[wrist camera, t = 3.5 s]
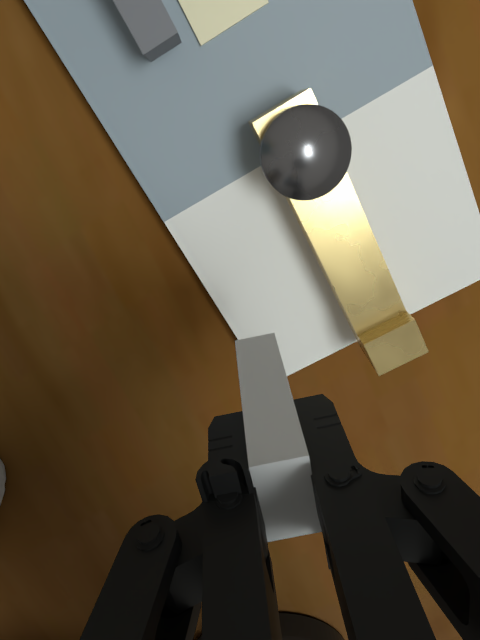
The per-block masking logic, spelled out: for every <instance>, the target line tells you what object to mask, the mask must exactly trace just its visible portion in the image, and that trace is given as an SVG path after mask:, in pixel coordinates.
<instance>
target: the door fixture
mask: <svg viewBox="0 0 480 640" xmlns="http://www.w3.org/2000/svg"><path fill="white" fill-rule="evenodd" d="M24 1H25V3H26V5H27V6H28V8H29V9H30V11H31V12H32V14H33V16H34V17H35V19H36V20H37V22H38V24H39V25H40V27H41V28H42V30H43V31H44V33H45V35H46V36H47V38H48V39H49V41H50V43H51V44H52V46H53V47H54V49H55V50H56V52H57V54H58V55H59V57H60V58H61V60H62V62H63V63H64V65H65V66H66V68H67V70H68V71H69V73H70V74H71V76H72V77H73V79H74V81H75V82H76V84H77V85H78V87H79V89H80V90H81V92H82V93H83V95H84V96H85V98H86V100H87V101H88V103H89V104H90V106H91V108H92V109H93V111H94V112H95V114H96V115H97V117H98V119H99V120H100V122H101V123H102V125H103V127H104V128H105V130H106V131H107V133H108V134H109V136H110V138H111V139H112V141H113V142H114V144H115V146H116V147H117V149H118V150H119V152H120V153H121V155H122V157H123V158H124V160H125V161H126V163H127V165H128V166H129V168H130V169H131V171H132V173H133V174H134V176H135V177H136V179H137V180H138V182H139V184H140V185H141V187H142V188H143V190H144V192H145V193H146V195H147V196H148V198H149V199H150V201H151V203H152V204H153V206H154V207H155V209H156V211H157V212H158V214H159V215H160V217H161V218H162V220H163V222H164V223H165V225H166V226H167V228H168V230H169V231H170V233H171V234H172V236H173V237H174V239H175V241H176V242H177V244H178V245H179V247H180V249H181V250H182V252H183V253H184V255H185V257H186V258H187V260H188V261H189V263H190V264H191V266H192V268H193V269H194V271H195V272H196V274H197V276H198V277H199V279H200V280H201V282H202V283H203V285H204V287H205V288H206V290H207V291H208V293H209V295H210V296H211V298H212V299H213V301H214V302H215V304H216V306H217V307H218V309H219V310H220V312H221V314H222V315H223V317H224V318H225V320H226V321H227V323H228V325H229V326H230V328H231V329H232V331H233V333H234V334H235V336H236V337H237V339H238V340H241V339H245V338H250V337H255V336H260V335H265V334H270V333H275V337H276V341H277V344H278V348H279V351H280V355H281V358H282V362H283V365H284V369H285V372H286V376H288V375H290V374H292V373H294V372H296V371H298V370H300V369H302V368H304V367H306V366H308V365H310V364H312V363H314V362H316V361H318V360H320V359H322V358H324V357H326V356H328V355H330V354H332V353H334V352H336V351H338V350H340V349H342V348H344V347H346V346H348V345H350V344H352V343H354V342H356V341H357V340H356V338H355V336H354V334H353V332H352V330H351V328H350V325H349V323H348V321H347V319H346V317H345V315H344V313H343V311H342V309H341V307H340V305H339V303H338V301H337V299H336V297H335V295H334V293H333V291H332V289H331V287H330V285H329V283H328V281H327V279H326V277H325V275H324V273H323V271H322V269H321V267H320V265H319V263H318V261H317V259H316V257H315V255H314V253H313V251H312V249H311V247H310V245H309V243H308V241H307V239H306V237H305V235H304V233H303V231H302V229H301V227H300V225H299V223H298V221H297V219H296V217H295V215H294V213H293V211H292V209H291V207H290V205H289V203H288V201H287V199H286V197H285V196H284V195H282V194H281V193H279V192H278V191H277V190H276V189H275V188H274V187H273V186H272V185H271V184H270V183H269V181H268V180H267V179H266V177H265V175H264V173H263V171H262V168H261V164H260V157H259V151H260V145H259V143H258V141H257V139H256V137H255V135H254V133H253V131H252V129H251V127H250V125H249V123H248V122H249V121H250V120H252V119H254V118H255V117H257V116H258V115H260V114H262V113H263V112H265V111H267V110H268V109H270V108H272V107H273V106H275V105H277V104H278V103H280V102H282V101H283V100H285V99H287V98H288V97H290V96H292V95H293V94H295V93H297V92H298V91H300V90H303V89H308V88H311V89H312V92H313V94H314V96H315V99H316V101H317V104H318V105H320V106H324V107H326V108H328V109H330V110H332V111H333V112H334V113H336V114H337V115H338V116H339V117H340V118H341V119H342V121H343V122H344V124H345V125H346V127H347V129H348V132H349V135H350V138H351V145H352V153H351V160H350V164H349V167H348V170H347V174H348V176H349V178H350V181H351V183H352V185H353V188H354V190H355V192H356V195H357V197H358V199H359V202H360V204H361V206H362V209H363V211H364V213H365V216H366V218H367V220H368V223H369V225H370V227H371V230H372V232H373V234H374V237H375V239H376V241H377V244H378V246H379V248H380V251H381V253H382V255H383V258H384V260H385V262H386V265H387V267H388V269H389V272H390V274H391V276H392V279H393V281H394V283H395V286H396V288H397V290H398V293H399V295H400V297H401V300H402V302H403V304H404V307H405V309H406V311H407V312H408V313H409V314H412V313H414V312H416V311H418V310H420V309H422V308H424V307H426V306H428V305H430V304H432V303H434V302H436V301H438V300H440V299H442V298H444V297H446V296H448V295H450V294H452V293H454V292H456V291H458V290H460V289H462V288H464V287H466V286H468V285H470V284H472V283H474V282H476V281H478V280H480V214H479V211H478V207H477V204H476V201H475V198H474V195H473V192H472V188H471V185H470V182H469V179H468V176H467V172H466V169H465V166H464V163H463V160H462V157H461V153H460V150H459V147H458V144H457V141H456V138H455V134H454V131H453V128H452V125H451V122H450V119H449V115H448V112H447V109H446V106H445V103H444V99H443V96H442V93H441V90H440V87H439V84H438V80H437V77H436V74H435V71H434V68H433V65H432V61H431V58H430V55H429V52H428V49H427V46H426V42H425V39H424V36H423V33H422V30H421V26H420V23H419V20H418V17H417V14H416V11H415V7H414V4H413V1H412V0H24Z"/></svg>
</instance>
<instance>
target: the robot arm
mask: <svg viewBox="0 0 480 640" xmlns="http://www.w3.org/2000/svg"><path fill="white" fill-rule="evenodd" d="M235 346H236V355H237V365H238V374H239V383H240V392H241V401H242V410H243V411H241V412H236V413H231V414H226V415H221V416H216V417H214V419H213V421H212V422H211V424H210V426H209V428H208V441H209V442H208V451H209V452H208V461H207V462H206V463H205V464H203V465H202V467H201V468H200V469H199V470H198V472H197V476H196V479H195V480H196V483H197V486H198V489H199V492H200V495H201V498H202V501H203V502H202V503H201V504H200V506H198V507H197V508H196V509H195V510H194V511H192V512H191V513H189V514H187V515H185V516H183V517H181V518H179V519H177V520H175V521H173V520H172V519H170V518H169V517H168V516H164V515H153V516H148V517H146V518H144V519H142V520H140V521H138V522H137V523H136V524H135V525H134V526H133V527H131V529H130V530H129V532H128V533H127V535H126V536H125V538H124V541H123V543H122V545H121V547H120V550H119V552H118V554H117V556H116V559H115V561H114V563H113V565H112V568H111V570H110V572H109V575H108V577H107V579H106V581H105V584H104V586H103V588H102V590H101V593H100V595H99V597H98V599H97V602H96V604H95V606H94V608H93V611H92V613H91V615H90V617H89V620H88V622H87V624H86V627H85V629H84V631H83V633H82V636H81V638H80V640H193V638H194V634H195V630H196V625H197V621H198V617H199V613H200V609H201V602H202V636H201V637H200V638H198V639H197V640H344V639H343V637H342V636H341V635H340V634H339V633H338V632H337V631H336V630H335V629H333V628H332V627H330V626H329V625H327V624H325V623H323V622H321V621H319V620H316V619H313V618H310V617H306V616H302V615H296V614H287V613H279V612H278V605H277V598H276V591H275V583H274V576H273V569H272V562H271V558H270V554H269V550H268V543H267V542H271V541H276V540H281V539H286V538H291V537H297V536H302V535H307V534H312V533H317V532H322V533H323V538H324V543H325V549H326V555H327V561H328V567H329V569H331V573H332V577H333V581H334V585H335V589H336V592H337V596H338V600H339V604H340V608H341V612H342V616H343V620H344V624H345V627H346V631H347V635H348V639H349V640H436V638H435V636H434V633H433V631H432V629H431V626H430V624H429V622H428V619H427V617H426V614H425V612H424V610H423V607H422V605H421V602H420V600H419V598H418V595H417V593H416V591H415V588H414V586H413V583H412V581H411V579H410V576H409V574H408V571H407V569H406V567H405V564H404V562H403V561H405V562H408V564H409V566H410V567H411V569H412V570H413V571H414V573H415V574H416V575H417V577H418V578H419V580H420V581H421V582H422V584H423V585H424V586H425V588H426V589H427V591H428V592H429V593H430V595H431V596H432V597H433V599H434V600H435V602H436V603H437V604H438V606H439V607H440V608H441V610H442V611H443V613H444V614H445V615H446V617H447V618H448V619H449V621H450V622H451V623H452V625H453V626H454V628H455V629H456V630H457V632H458V633H459V634H460V636H461V637H462V639H463V640H480V497H479V496H478V495H477V494H476V493H475V492H474V491H473V490H472V489H471V488H470V487H469V486H468V485H467V484H466V483H465V482H463V481H462V480H461V479H460V478H459V477H458V476H457V475H456V474H455V473H454V472H453V471H451V470H450V469H448V468H447V467H445V466H444V465H441V464H438V463H434V462H418V463H413V464H411V465H410V466H408V467H406V468H405V469H404V470H403V472H402V474H401V476H396V475H384V474H378V473H375V472H372V471H369V470H368V469H366V468H364V467H363V466H362V465H361V464H360V463H358V461H357V459H356V458H355V456H354V453H353V451H352V448H351V446H350V444H349V441H348V439H347V436H346V434H345V431H344V429H343V427H342V425H341V422H340V419H339V417H338V415H337V412H336V410H335V407H334V405H333V402H331V401H330V400H329V399H328V398H327V397H325V396H324V395H323V394H320V395H315V396H310V397H305V398H300V399H295V400H293V397H292V394H291V390H290V387H289V383H288V379H287V376H286V372H285V369H284V365H283V362H282V358H281V355H280V351H279V348H278V344H277V341H276V337H275V333H270V334H265V335H260V336H255V337H250V338H245V339H241V340H236V341H235Z"/></svg>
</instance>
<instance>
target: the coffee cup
mask: <svg viewBox="0 0 480 640" xmlns="http://www.w3.org/2000/svg"><path fill="white" fill-rule="evenodd" d="M5 481H6V473H5V466H4V464H3V462H2V461H1V459H0V505H1V502H2V499H3V495H4V492H5V486H4V485H5Z"/></svg>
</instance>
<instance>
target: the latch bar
mask: <svg viewBox="0 0 480 640" xmlns="http://www.w3.org/2000/svg"><path fill="white" fill-rule="evenodd" d="M248 123H249V125H250V127H251V129H252V131H253V133H254V135H255V137H256V139H257V141H258V143H259V145H260V151H259V157H260V164H261V168H262V171H263V173H264V175H265V177H266V179H267V180H268V181H269V183H270V184H271V185H272V186H273V187H274V188H275V189H276V190H277V191H278V192H279V193H281V194H282V195H284V196H285V197H286V199H287V201H288V203H289V205H290V207H291V209H292V211H293V213H294V215H295V217H296V219H297V221H298V223H299V225H300V227H301V229H302V231H303V233H304V235H305V237H306V239H307V241H308V243H309V245H310V247H311V249H312V251H313V253H314V255H315V257H316V259H317V261H318V263H319V265H320V267H321V269H322V271H323V273H324V275H325V277H326V279H327V281H328V283H329V285H330V287H331V289H332V291H333V293H334V295H335V297H336V299H337V301H338V303H339V305H340V307H341V309H342V311H343V313H344V315H345V317H346V319H347V321H348V323H349V325H350V328H351V330H352V332H353V334H354V336H355V338H356V340H357V342H358V344H359V346H360V348H361V349H362V351H363V352H364V354H365V355H366V357H367V358H368V360H369V361H370V363H371V364H372V366H373V368H374V369H375V371H376V372H377V374H378V375H379V376H380V375H382V374H384V373H386V372H388V371H390V370H392V369H394V368H396V367H398V366H401V365H403V364H405V363H407V362H409V361H411V360H413V359H415V358H417V357H419V356H421V355H423V354H425V353H427V352H428V350H427V347H426V345H425V342H424V340H423V338H422V335H421V333H420V331H419V328H418V326H417V324H416V321H415V319H414V318H413V317H412V316H411V315H410V314H409V313H408V312H407V311H406V309H405V307H404V304H403V302H402V300H401V297H400V295H399V293H398V290H397V288H396V286H395V283H394V281H393V279H392V276H391V274H390V272H389V269H388V267H387V265H386V262H385V260H384V258H383V255H382V253H381V251H380V248H379V246H378V244H377V241H376V239H375V237H374V234H373V232H372V230H371V227H370V225H369V223H368V220H367V218H366V216H365V213H364V211H363V209H362V206H361V204H360V202H359V199H358V197H357V195H356V192H355V190H354V188H353V185H352V183H351V181H350V178H349V176H348V174H347V170H348V167H349V164H350V160H351V153H352V145H351V138H350V135H349V132H348V129H347V127H346V125H345V124H344V122H343V121H342V119H341V118H340V117H339V116H338V115H337V114H336V113H334V112H333V111H332V110H330V109H328V108H326V107H324V106H320V105H318V104H317V101H316V99H315V96H314V94H313V92H312V89H311V88H308V89H303V90H300V91H298V92H297V93H295V94H293V95H292V96H290V97H288V98H287V99H285V100H283V101H282V102H280V103H278V104H277V105H275V106H273V107H272V108H270V109H268V110H267V111H265V112H263V113H262V114H260V115H258V116H257V117H255V118H254V119H252V120H250V121H249V122H248Z"/></svg>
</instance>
